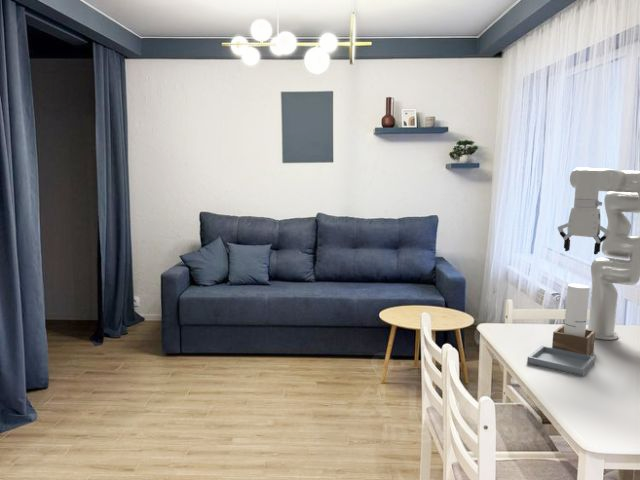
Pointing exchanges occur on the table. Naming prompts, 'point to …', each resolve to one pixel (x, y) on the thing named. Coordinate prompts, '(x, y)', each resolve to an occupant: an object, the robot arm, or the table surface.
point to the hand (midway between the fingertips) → (581, 252)
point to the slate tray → (561, 360)
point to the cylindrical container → (576, 309)
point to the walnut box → (574, 341)
